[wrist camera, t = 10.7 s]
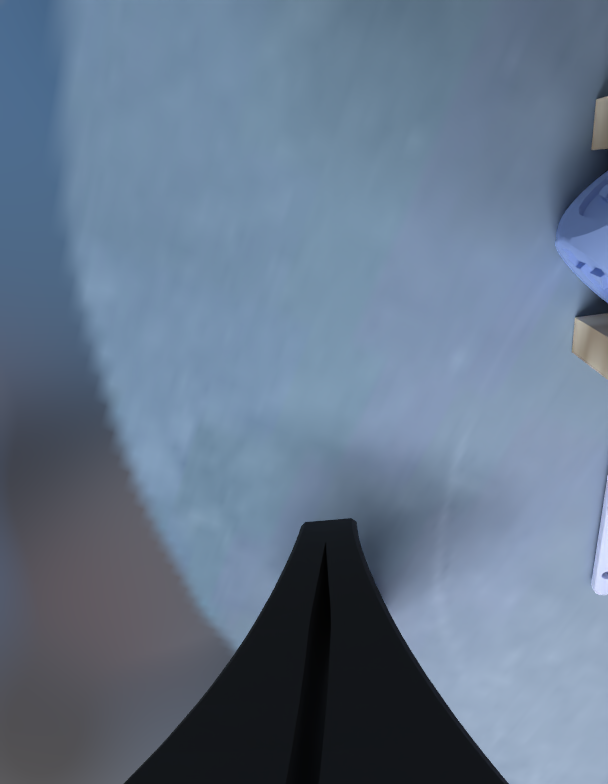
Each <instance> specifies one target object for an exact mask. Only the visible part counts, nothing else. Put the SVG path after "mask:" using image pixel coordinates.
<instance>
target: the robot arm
mask: <svg viewBox="0 0 608 784" xmlns="http://www.w3.org/2000/svg"><path fill="white" fill-rule="evenodd" d="M591 586H592V588H593V590H594V591H595V592H596V593H597V594H599V595H608V477H607V484H606V490H605V497H604V503H603V510H602V517H601V523H600V530H599V536H598V543H597V549H596V556H595V563H594V569H593V576H592V582H591ZM124 784H509V783H508V782H507V781H506V780H505V779H504V778H503V776H502V775H501V774H500V773H499V772H498V770H497V769H496V768H495V767H494V766H493V764H492V763H491V762H490V761H489V759H488V758H487V757H486V756H485V754H484V753H483V752H482V751H481V749H480V748H479V747H478V746H477V744H476V743H475V742H474V740H473V739H472V738H471V736H470V735H469V734H468V733H467V731H466V730H465V729H464V727H463V726H462V725H461V723H460V722H459V721H458V719H457V718H456V717H455V715H454V714H453V713H452V711H451V710H450V708H449V707H448V705H447V704H446V703H445V701H444V700H443V698H442V697H441V695H440V694H439V693H438V691H437V690H436V688H435V687H434V685H433V684H432V683H431V681H430V680H429V678H428V677H427V675H426V674H425V672H424V671H423V669H422V668H421V666H420V664H419V663H418V661H417V660H416V658H415V657H414V655H413V653H412V652H411V650H410V648H409V647H408V645H407V643H406V642H405V640H404V638H403V637H402V635H401V633H400V631H399V630H398V628H397V626H396V624H395V622H394V620H393V619H392V617H391V615H390V613H389V611H388V609H387V607H386V605H385V603H384V601H383V599H382V597H381V595H380V593H379V591H378V588H377V586H376V584H375V582H374V579H373V577H372V575H371V572H370V570H369V568H368V565H367V562H366V560H365V557H364V554H363V551H362V548H361V545H360V541H359V536H358V530H357V523H356V521H355V520H353V519H352V518H350V519H338V520H326V521H315V522H305V523H304V524H303V525H302V526H301V529H300V532H299V535H298V537H297V540H296V542H295V545H294V547H293V550H292V552H291V554H290V556H289V559H288V561H287V563H286V565H285V567H284V569H283V571H282V573H281V576H280V578H279V580H278V582H277V584H276V586H275V588H274V590H273V591H272V593H271V595H270V597H269V599H268V601H267V602H266V604H265V606H264V608H263V609H262V611H261V613H260V615H259V616H258V618H257V620H256V622H255V623H254V625H253V626H252V628H251V630H250V631H249V633H248V635H247V636H246V638H245V639H244V641H243V642H242V644H241V645H240V647H239V648H238V650H237V651H236V653H235V654H234V656H233V657H232V658H231V660H230V662H229V663H228V664H227V665H226V667H225V668H224V669H223V671H222V672H221V674H220V675H219V676H218V678H217V679H216V680H215V682H214V683H213V684H212V686H211V687H210V688H209V689H208V691H207V692H206V693H205V694H204V696H203V697H202V698H201V699H200V701H199V702H198V703H197V704H196V706H195V707H194V708H193V709H192V710H191V711H190V712H189V714H188V715H187V716H186V717H185V718H184V720H183V721H182V722H181V723H180V724H179V725H178V726H177V728H176V729H175V730H174V731H173V732H172V733H171V735H170V736H169V737H168V738H167V739H166V740H165V741H164V742H163V744H162V745H161V746H160V747H159V748H158V749H157V750H156V751H155V752H154V753H153V754H152V755H151V756H150V757H149V758H148V759H147V760H146V761H145V762H144V763H143V764H142V765H141V766H140V767H139V768H138V770H136V772H135V773H134V774H133V775H132V776H131V777H130V778H129V779H128V780H127V781H126V782H125V783H124Z"/></svg>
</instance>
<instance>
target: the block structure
mask: <svg viewBox="0 0 608 784" xmlns="http://www.w3.org/2000/svg"><path fill="white" fill-rule="evenodd" d="M599 149H608V96H607V97H603V98H599V99H596V107H595V118H594V128H593V138H592V149H591V150H599ZM572 353H574V354H575V355H576V356H578V357H579V358H580V359H582V360H583V361H584V362H585V363H587V364H588V365H589V366H591V367H592V368H593V369H595V370H596V371H597V372H598V373H600V374H601V375H602V376H604V377H605V378H606V379H608V313H604V314H597V315H589V316H582V317H575V325H574V335H573V346H572Z"/></svg>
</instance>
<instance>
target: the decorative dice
mask: <svg viewBox="0 0 608 784" xmlns="http://www.w3.org/2000/svg"><path fill="white" fill-rule="evenodd" d="M555 246H556V249H557V251H558V253H559V255H560V256H561V258H562V259H563V260H564V262H565V263H566V264H567V265H568V267H569V268H570V269H571V270H572V271H573V272H574V273H575V274H576V275H577V276H578V277H579V278H580V279H581V280H582V281H583V282H584V283H585V284H586V285H587V286H588V287H589V288H590V289H591V290H592V291H593V292H595V293H596V294H597V295H598V296H599V297H600V298H602V299H603V300H604V301H606V302H607V303H608V171H607V172H605V173H604V174H603V175H601V176H600V177H599V178H598V179H596V180H595V181H594V182H593V183H592V184H590V185H589V186H588V187H587V188H586V189H585V190H584V191H583V192H582V193H581V194H580V195H579V196H578V197H577V198H576V199H575V200H574V201H573V202H572V204H571V205H570V206H569V207H568V209H567V210H566V211H565V213H564V214H563V216H562V218H561V220H560V222H559V225H558V229H557V234H556V242H555Z"/></svg>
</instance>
